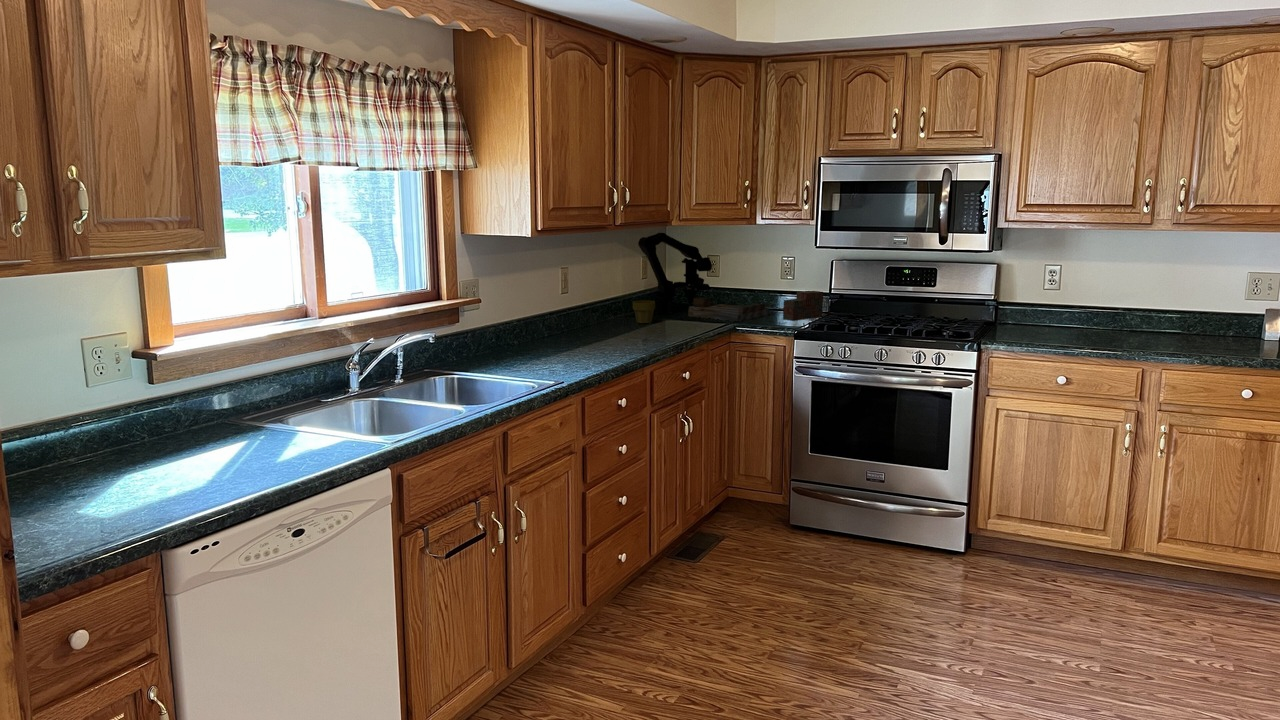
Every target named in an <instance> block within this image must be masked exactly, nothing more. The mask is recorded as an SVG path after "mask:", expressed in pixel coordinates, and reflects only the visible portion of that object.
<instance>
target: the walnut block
mask: <svg viewBox="0 0 1280 720" xmlns="http://www.w3.org/2000/svg"><path fill="white" fill-rule="evenodd" d="M711 302H712V298H711V297H694V300H693V303H692V306H693V307H700V308H705V307H711V306H712V305H711Z"/></svg>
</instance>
